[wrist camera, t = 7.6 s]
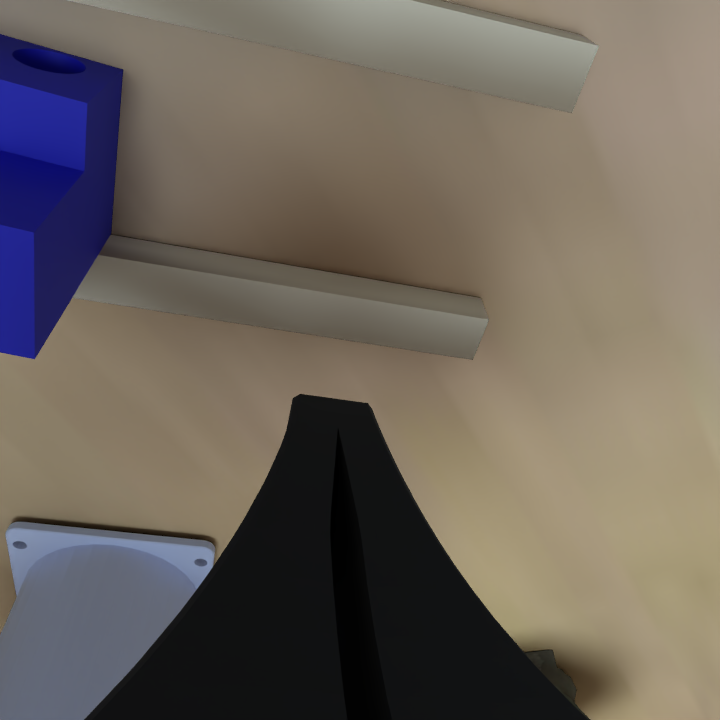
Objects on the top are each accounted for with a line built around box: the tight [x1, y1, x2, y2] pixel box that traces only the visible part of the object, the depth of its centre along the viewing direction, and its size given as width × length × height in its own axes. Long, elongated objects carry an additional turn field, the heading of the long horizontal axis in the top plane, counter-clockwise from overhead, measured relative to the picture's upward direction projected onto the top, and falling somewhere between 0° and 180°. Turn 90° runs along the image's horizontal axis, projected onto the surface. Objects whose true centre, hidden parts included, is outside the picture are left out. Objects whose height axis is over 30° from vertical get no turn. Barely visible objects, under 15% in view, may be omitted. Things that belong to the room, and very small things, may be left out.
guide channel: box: [68, 0, 599, 360], centre depth 14 cm, size 10×25×4 cm, turn 78°
